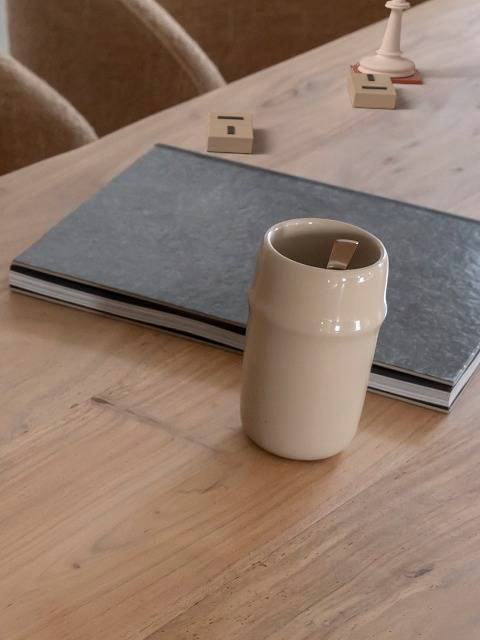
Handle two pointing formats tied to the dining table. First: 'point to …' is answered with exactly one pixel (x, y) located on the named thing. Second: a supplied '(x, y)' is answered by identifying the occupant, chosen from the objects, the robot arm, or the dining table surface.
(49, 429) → the dining table surface
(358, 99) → the beige block
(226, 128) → the left block
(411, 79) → the reddish brown square tile
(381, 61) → the chess piece
